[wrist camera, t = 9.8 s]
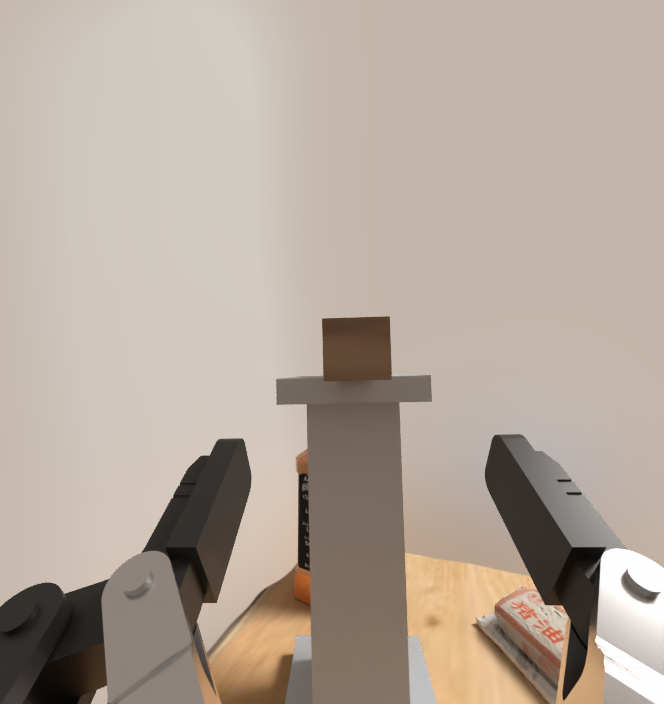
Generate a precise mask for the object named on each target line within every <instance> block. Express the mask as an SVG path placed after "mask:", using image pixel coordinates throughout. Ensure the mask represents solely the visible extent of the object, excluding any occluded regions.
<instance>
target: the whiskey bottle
mask: <svg viewBox="0 0 664 704" xmlns="http://www.w3.org/2000/svg"><path fill="white" fill-rule="evenodd" d="M296 470H297V472H298V474H299V491H298V493H299V494H298V497H299V498H298V563H297V564H296V566H295V577H294V595H295V598H296V599H299V600H301V601H304V602H306V603H308V604H311V598H310V546H309V493H308V449H307V450H305V451H304V452H302V453H301V454H299V455H298V456H297V457H296Z"/></svg>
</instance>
